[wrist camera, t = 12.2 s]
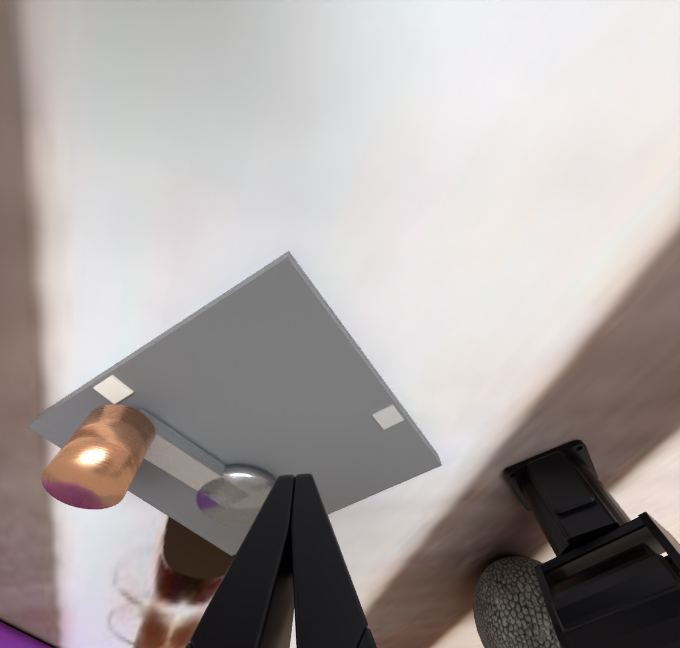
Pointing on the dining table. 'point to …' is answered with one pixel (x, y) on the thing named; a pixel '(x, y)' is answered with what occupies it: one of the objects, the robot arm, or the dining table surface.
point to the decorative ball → (512, 606)
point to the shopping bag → (17, 639)
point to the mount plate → (259, 400)
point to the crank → (158, 448)
